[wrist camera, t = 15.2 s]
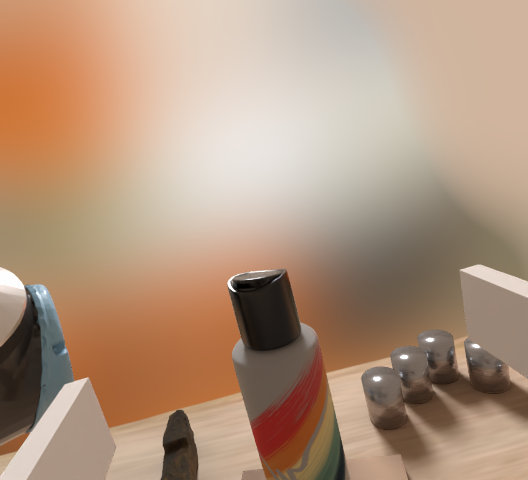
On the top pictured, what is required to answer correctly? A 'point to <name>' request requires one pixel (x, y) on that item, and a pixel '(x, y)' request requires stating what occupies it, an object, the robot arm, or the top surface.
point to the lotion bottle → (284, 382)
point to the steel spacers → (427, 376)
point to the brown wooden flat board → (359, 469)
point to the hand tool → (179, 449)
